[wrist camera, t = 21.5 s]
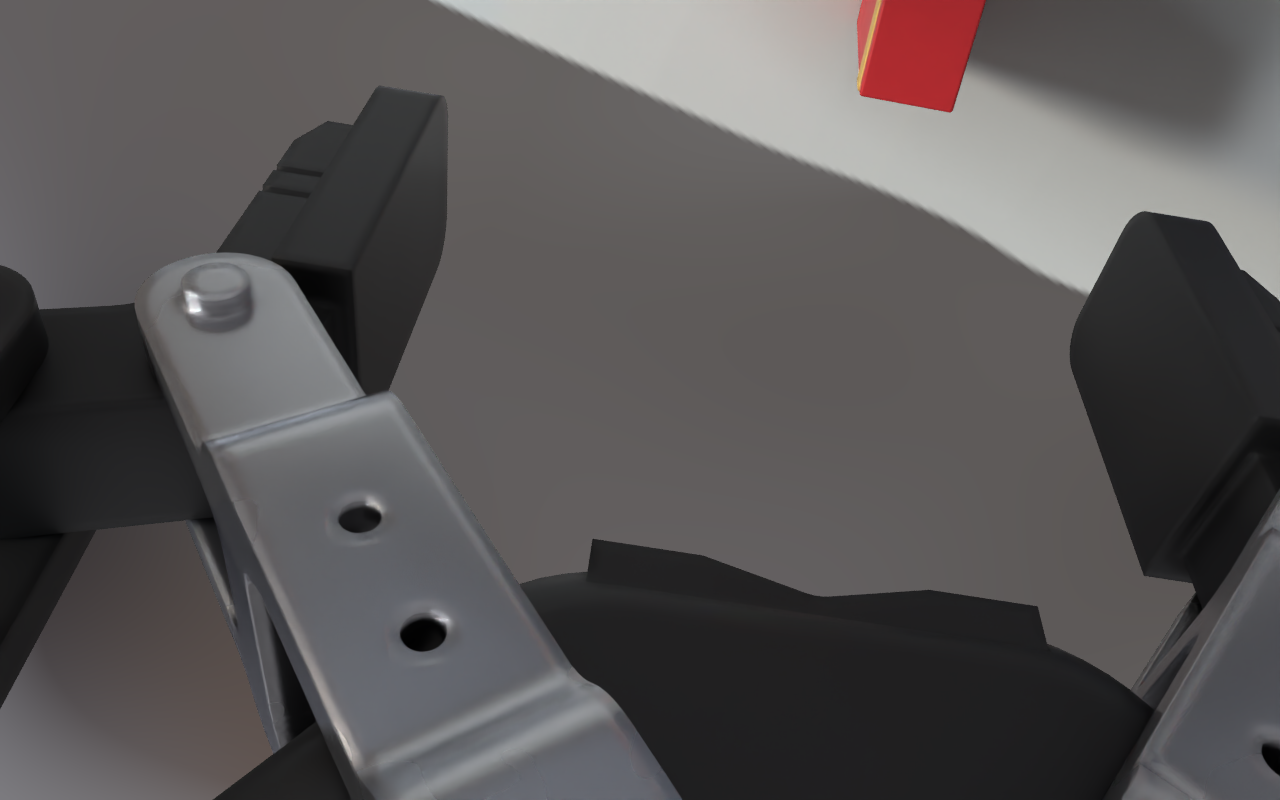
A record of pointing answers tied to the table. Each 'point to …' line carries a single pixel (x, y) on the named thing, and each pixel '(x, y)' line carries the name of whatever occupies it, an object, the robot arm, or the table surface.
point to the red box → (915, 49)
